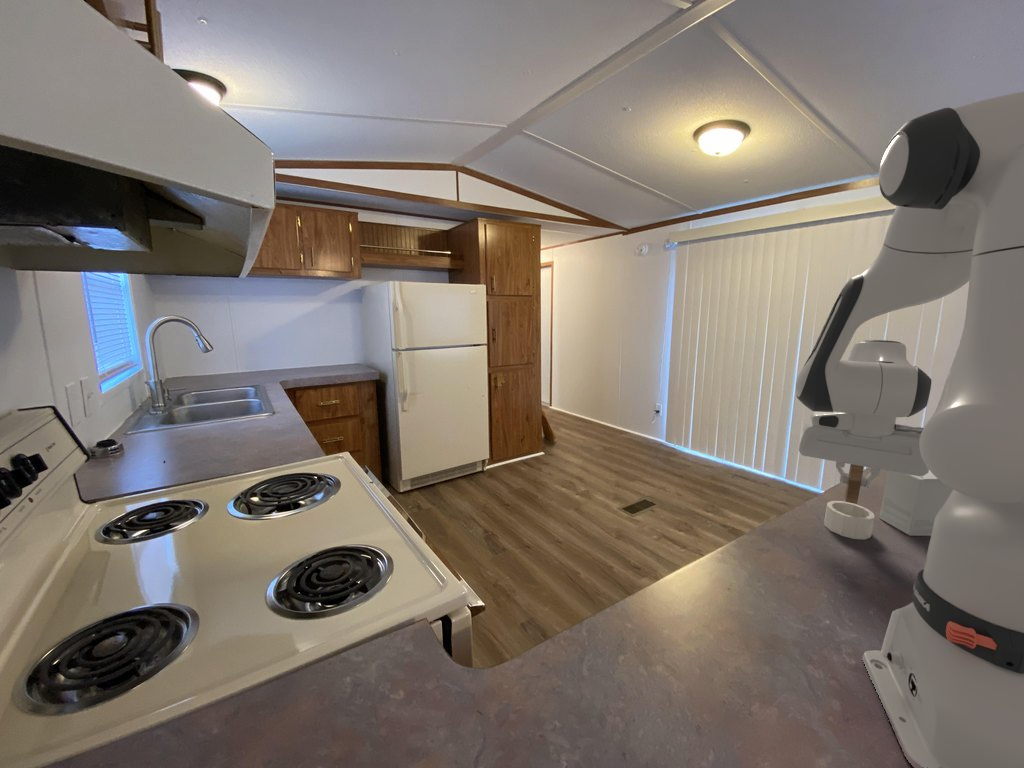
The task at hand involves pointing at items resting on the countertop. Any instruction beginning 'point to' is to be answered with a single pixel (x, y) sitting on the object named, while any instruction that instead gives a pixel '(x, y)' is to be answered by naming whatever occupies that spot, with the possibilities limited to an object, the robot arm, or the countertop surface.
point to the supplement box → (913, 502)
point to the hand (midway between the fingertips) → (853, 484)
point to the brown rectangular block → (854, 483)
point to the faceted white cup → (849, 520)
